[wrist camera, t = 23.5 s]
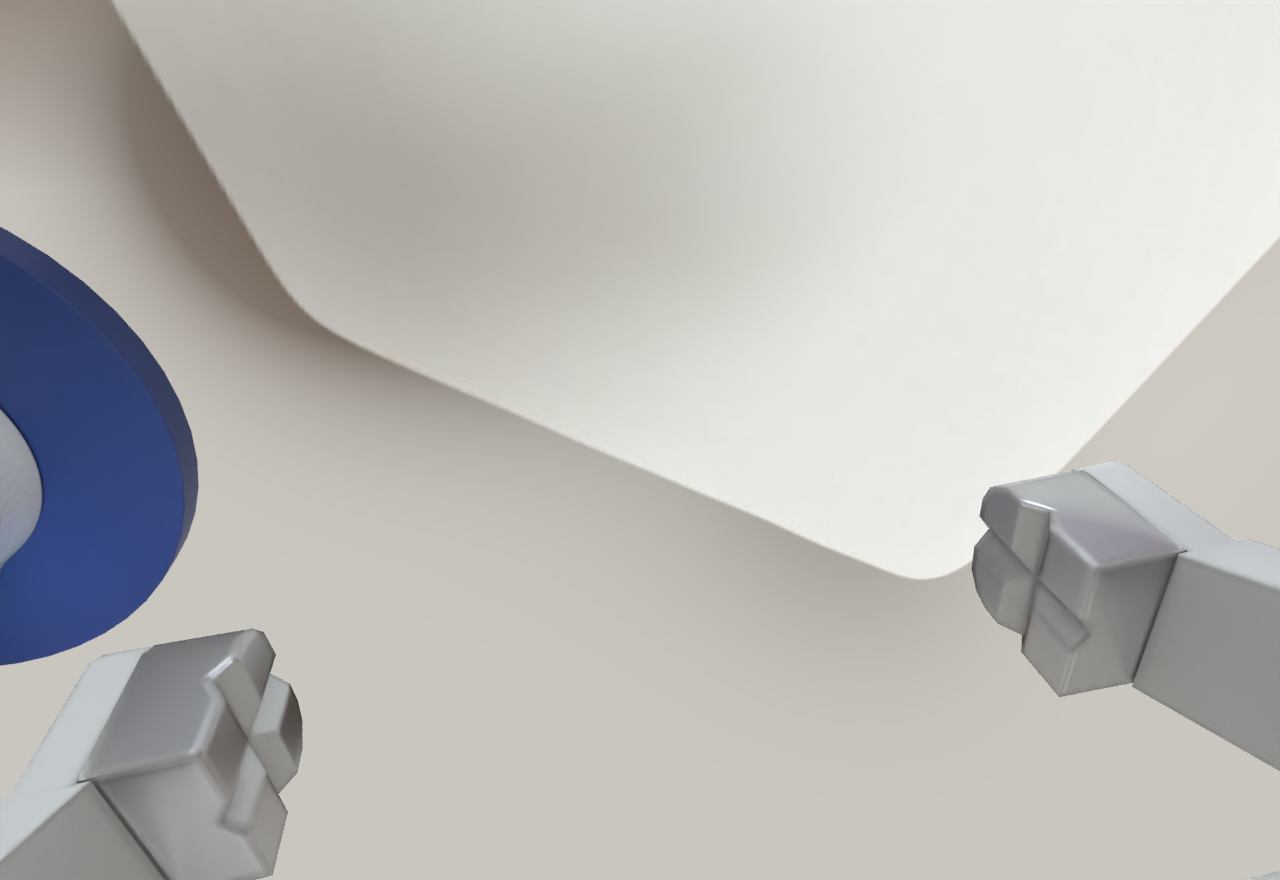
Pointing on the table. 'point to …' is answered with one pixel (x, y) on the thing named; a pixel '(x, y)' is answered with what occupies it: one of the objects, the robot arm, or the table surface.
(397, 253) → the table surface
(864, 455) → the table surface
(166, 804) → the robot arm
